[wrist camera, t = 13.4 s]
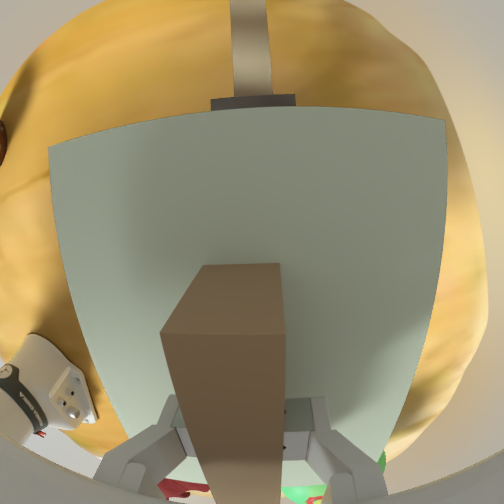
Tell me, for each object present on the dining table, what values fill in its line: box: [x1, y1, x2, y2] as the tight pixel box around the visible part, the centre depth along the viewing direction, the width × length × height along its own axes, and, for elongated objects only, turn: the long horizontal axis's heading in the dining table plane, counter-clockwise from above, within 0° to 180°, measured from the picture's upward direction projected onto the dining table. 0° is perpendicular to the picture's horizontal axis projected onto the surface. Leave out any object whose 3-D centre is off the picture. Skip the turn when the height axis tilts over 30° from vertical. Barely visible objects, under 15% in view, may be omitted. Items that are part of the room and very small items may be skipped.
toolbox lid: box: [48, 106, 447, 504], centre depth 10 cm, size 19×14×6 cm
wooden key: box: [230, 0, 273, 97], centre depth 15 cm, size 13×2×4 cm, turn 3°
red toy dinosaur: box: [157, 478, 210, 500], centre depth 42 cm, size 28×9×15 cm
